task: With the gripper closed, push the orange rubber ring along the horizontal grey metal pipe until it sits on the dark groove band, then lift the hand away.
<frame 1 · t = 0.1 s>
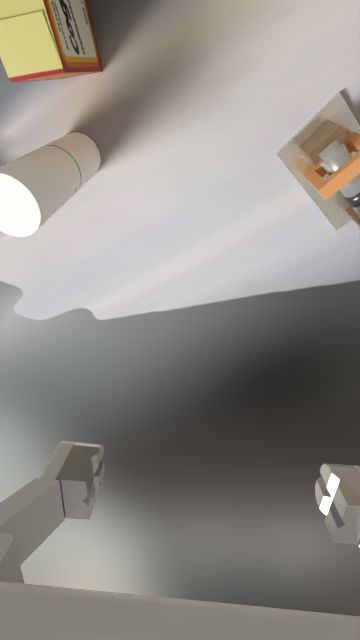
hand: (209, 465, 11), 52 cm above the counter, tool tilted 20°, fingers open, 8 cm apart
cylindrical container: (81, 155, 52), on the counter
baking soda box: (71, 31, 41), on the counter
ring: (339, 165, 45), point 6 cm above the counter, slide at 0.0 cm
pipe rig: (345, 182, 51), on the counter
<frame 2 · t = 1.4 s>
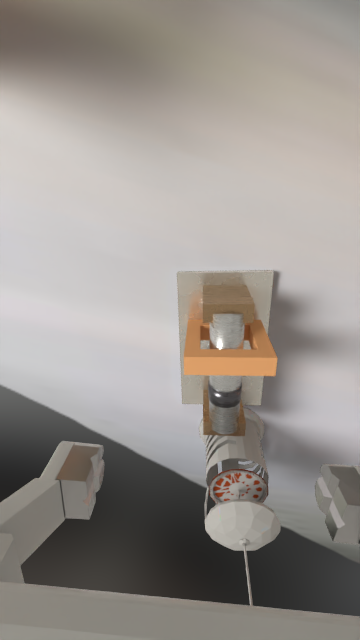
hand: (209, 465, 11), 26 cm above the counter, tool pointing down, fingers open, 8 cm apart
french press: (228, 433, 45), on the counter
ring: (226, 344, 31), point 6 cm above the counter, slide at 0.0 cm
pipe rig: (221, 362, 39), on the counter
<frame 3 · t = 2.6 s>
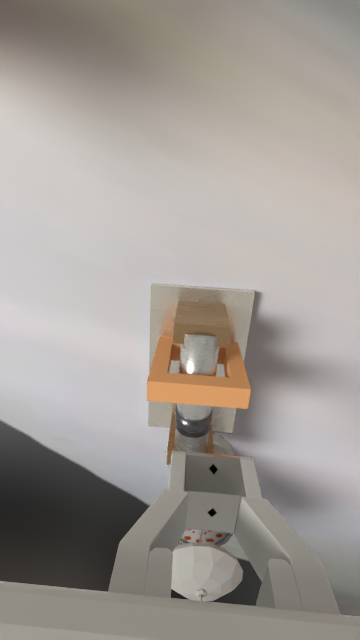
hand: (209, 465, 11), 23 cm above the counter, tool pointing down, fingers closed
french press: (196, 460, 41), on the counter
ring: (197, 368, 28), point 6 cm above the counter, slide at 0.0 cm
pipe rig: (194, 383, 36), on the counter
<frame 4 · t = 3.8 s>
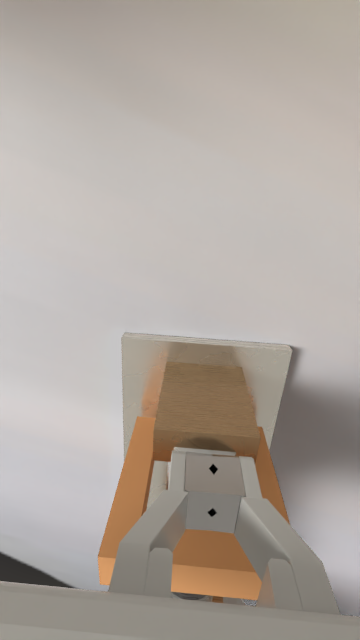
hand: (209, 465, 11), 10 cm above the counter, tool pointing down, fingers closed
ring: (198, 488, 16), point 6 cm above the counter, slide at 0.0 cm
pipe rig: (192, 473, 24), on the counter
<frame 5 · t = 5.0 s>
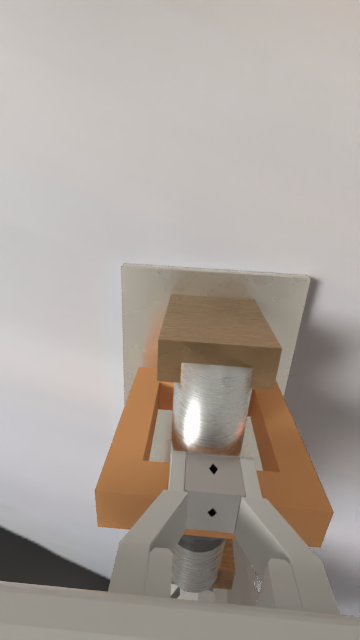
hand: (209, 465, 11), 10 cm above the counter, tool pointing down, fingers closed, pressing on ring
french press: (201, 536, 28), on the counter
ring: (206, 434, 15), point 6 cm above the counter, slide at 0.7 cm, touching gripper
pipe rig: (198, 429, 22), on the counter
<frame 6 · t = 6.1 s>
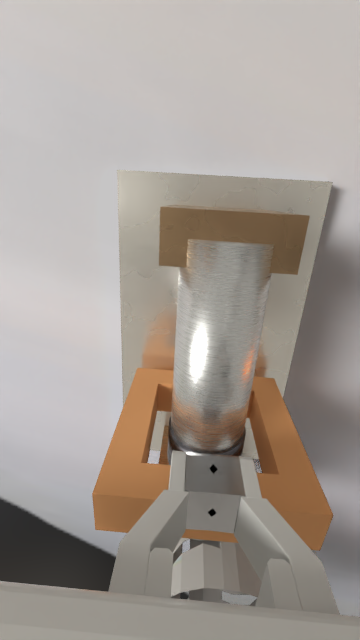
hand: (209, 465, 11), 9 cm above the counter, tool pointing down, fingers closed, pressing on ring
french press: (205, 501, 26), on the counter
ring: (205, 436, 15), point 6 cm above the counter, slide at 5.7 cm, touching gripper
pipe rig: (202, 375, 20), on the counter
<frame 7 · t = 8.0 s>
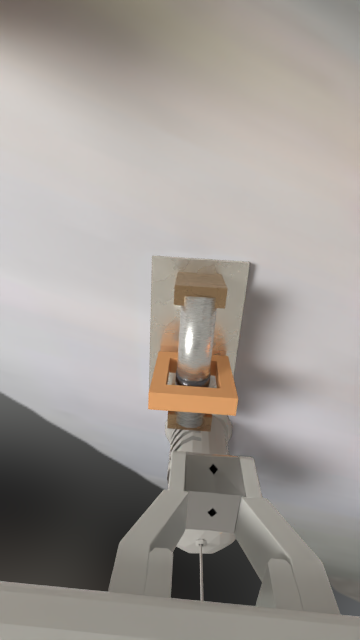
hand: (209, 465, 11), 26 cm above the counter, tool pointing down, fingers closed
french press: (194, 433, 43), on the counter
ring: (192, 379, 32), point 6 cm above the counter, slide at 5.9 cm
pipe rig: (192, 355, 38), on the counter
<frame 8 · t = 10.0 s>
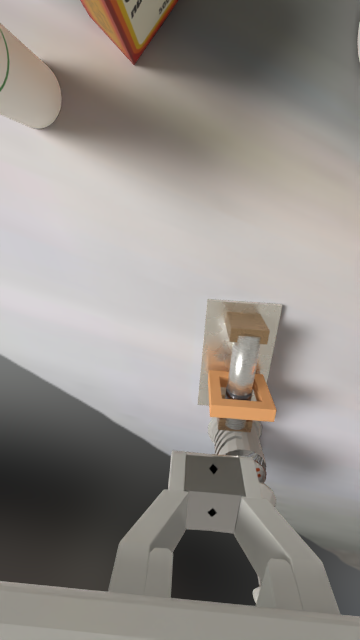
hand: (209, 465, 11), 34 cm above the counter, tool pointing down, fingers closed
cylindrical container: (33, 94, 36), on the counter
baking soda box: (139, 0, 32), on the counter
french press: (231, 432, 54), on the counter
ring: (238, 393, 43), point 6 cm above the counter, slide at 5.9 cm
pipe rig: (233, 372, 49), on the counter
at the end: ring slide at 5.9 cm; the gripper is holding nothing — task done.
